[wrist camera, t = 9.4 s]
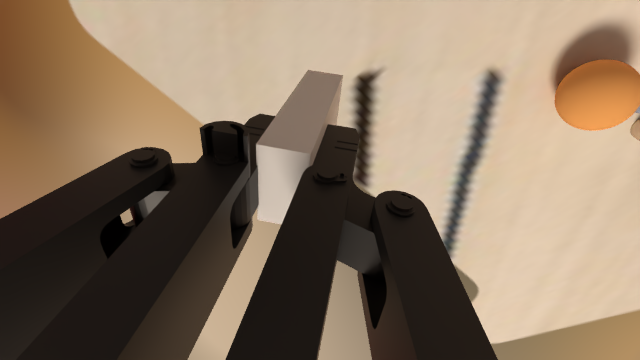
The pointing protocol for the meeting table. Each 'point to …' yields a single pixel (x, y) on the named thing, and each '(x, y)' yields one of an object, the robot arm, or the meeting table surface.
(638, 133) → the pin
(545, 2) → the meeting table surface
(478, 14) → the meeting table surface
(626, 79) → the ball
